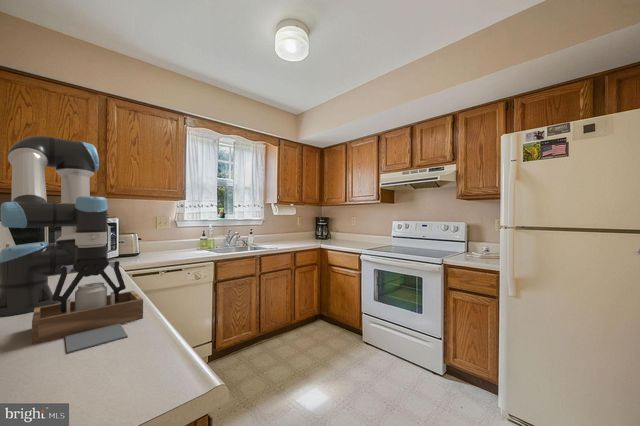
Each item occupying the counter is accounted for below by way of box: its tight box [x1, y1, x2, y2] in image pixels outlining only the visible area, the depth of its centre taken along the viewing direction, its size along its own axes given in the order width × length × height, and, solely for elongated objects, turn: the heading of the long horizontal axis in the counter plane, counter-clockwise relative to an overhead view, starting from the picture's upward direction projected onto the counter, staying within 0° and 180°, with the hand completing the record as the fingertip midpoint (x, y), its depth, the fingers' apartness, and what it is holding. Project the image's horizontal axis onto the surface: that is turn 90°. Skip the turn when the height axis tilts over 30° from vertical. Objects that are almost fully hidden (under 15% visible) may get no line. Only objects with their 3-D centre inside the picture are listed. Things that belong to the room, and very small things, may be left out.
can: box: [74, 282, 108, 312], centre depth 82 cm, size 8×8×12 cm
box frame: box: [31, 290, 144, 345], centre depth 82 cm, size 14×24×6 cm, turn 136°
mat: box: [64, 323, 129, 355], centre depth 72 cm, size 12×12×1 cm
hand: (91, 317), depth 81 cm, fingers open, 10 cm apart
